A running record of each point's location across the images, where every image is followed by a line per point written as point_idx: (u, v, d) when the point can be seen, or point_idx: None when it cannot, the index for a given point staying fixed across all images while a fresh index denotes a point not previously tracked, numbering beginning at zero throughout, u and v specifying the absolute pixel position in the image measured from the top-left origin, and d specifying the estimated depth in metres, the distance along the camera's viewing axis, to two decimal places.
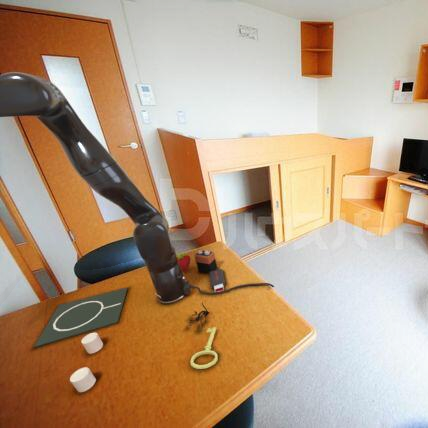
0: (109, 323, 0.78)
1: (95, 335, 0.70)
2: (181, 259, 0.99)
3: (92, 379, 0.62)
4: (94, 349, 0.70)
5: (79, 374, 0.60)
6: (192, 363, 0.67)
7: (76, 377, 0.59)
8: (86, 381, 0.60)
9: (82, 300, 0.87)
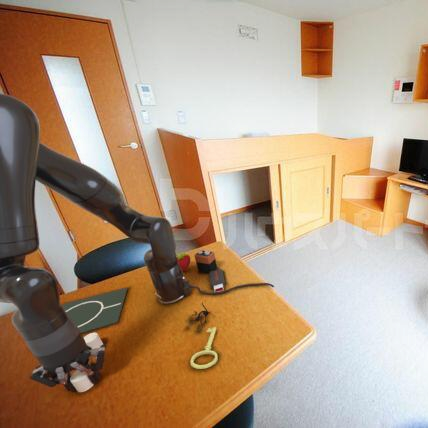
0: (109, 323, 0.78)
1: (95, 335, 0.70)
2: (181, 259, 0.99)
3: None
4: None
5: (79, 374, 0.60)
6: (192, 363, 0.67)
7: (76, 377, 0.59)
8: (86, 381, 0.60)
9: (82, 300, 0.87)
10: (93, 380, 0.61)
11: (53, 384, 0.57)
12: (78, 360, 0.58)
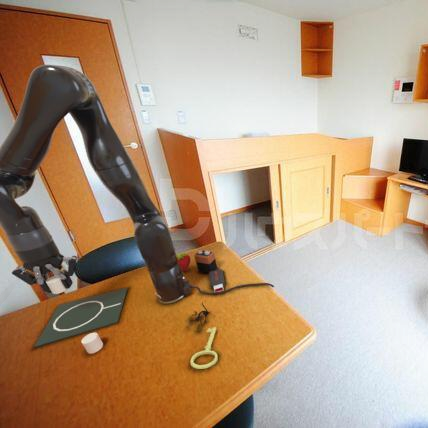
0: (109, 323, 0.78)
1: (95, 335, 0.70)
2: (181, 259, 0.99)
3: None
4: (94, 349, 0.70)
5: (54, 278, 0.73)
6: (192, 363, 0.67)
7: (51, 280, 0.72)
8: (60, 284, 0.73)
9: (82, 300, 0.87)
10: (66, 285, 0.74)
11: (31, 282, 0.70)
12: (52, 263, 0.71)
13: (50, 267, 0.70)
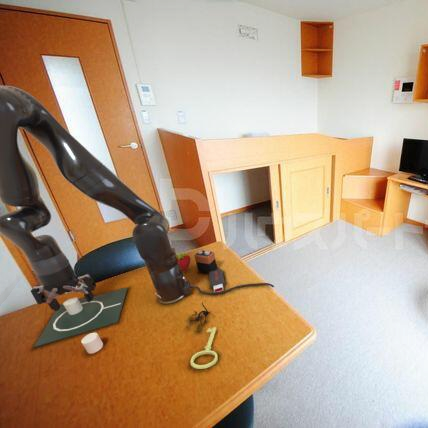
0: (109, 323, 0.78)
1: (95, 335, 0.70)
2: (181, 259, 0.99)
3: (80, 306, 0.82)
4: (94, 349, 0.70)
5: (70, 301, 0.81)
6: (192, 363, 0.67)
7: (68, 302, 0.80)
8: (75, 306, 0.81)
9: (82, 300, 0.87)
10: (88, 299, 0.82)
11: (40, 302, 0.76)
12: (69, 285, 0.78)
13: (67, 288, 0.78)
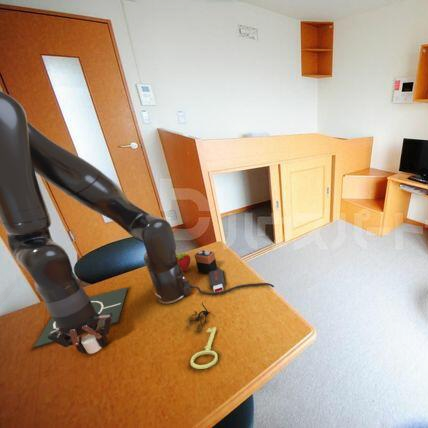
0: None
1: None
2: (181, 259, 0.99)
3: None
4: (94, 349, 0.70)
5: None
6: (192, 363, 0.67)
7: None
8: None
9: None
10: (101, 343, 0.71)
11: (67, 344, 0.66)
12: (88, 324, 0.67)
13: (86, 328, 0.66)
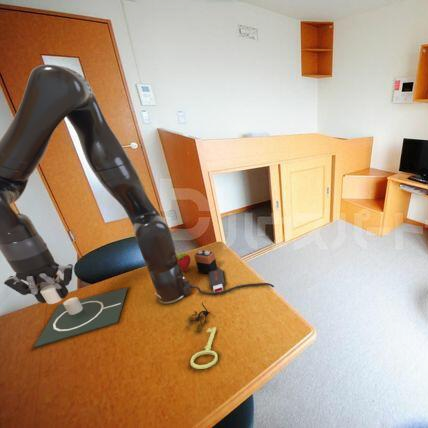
0: (109, 323, 0.78)
1: None
2: (181, 259, 0.99)
3: (80, 306, 0.82)
4: (53, 300, 0.70)
5: (70, 301, 0.81)
6: (192, 363, 0.67)
7: (68, 302, 0.80)
8: (75, 306, 0.81)
9: (82, 300, 0.87)
10: (61, 294, 0.71)
11: (25, 292, 0.67)
12: (47, 273, 0.68)
13: (44, 276, 0.67)
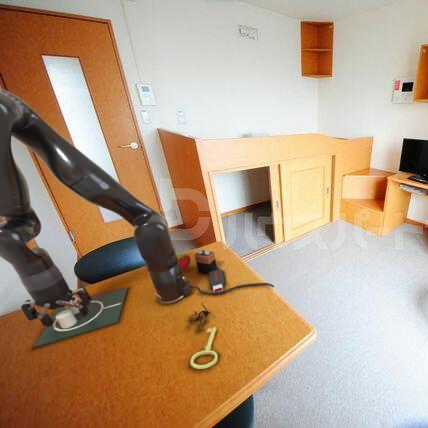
0: (109, 323, 0.78)
1: (69, 312, 0.77)
2: (181, 259, 0.99)
3: None
4: (68, 324, 0.76)
5: (70, 301, 0.81)
6: (192, 363, 0.67)
7: None
8: None
9: None
10: (82, 313, 0.78)
11: (31, 318, 0.72)
12: (62, 299, 0.74)
13: (60, 303, 0.73)
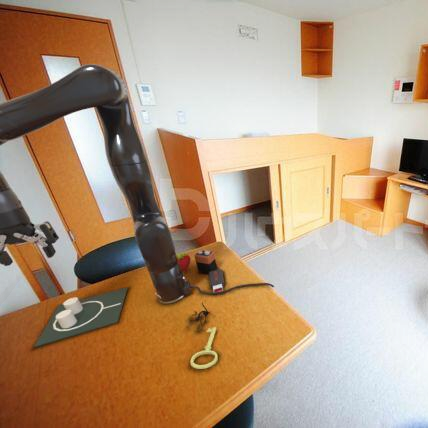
0: (109, 323, 0.78)
1: (69, 312, 0.77)
2: (181, 259, 0.99)
3: (80, 306, 0.82)
4: (68, 324, 0.76)
5: (70, 301, 0.81)
6: (192, 363, 0.67)
7: (68, 302, 0.80)
8: (75, 306, 0.81)
9: (82, 300, 0.87)
10: (47, 253, 0.68)
11: None
12: (22, 233, 0.63)
13: (19, 236, 0.63)
